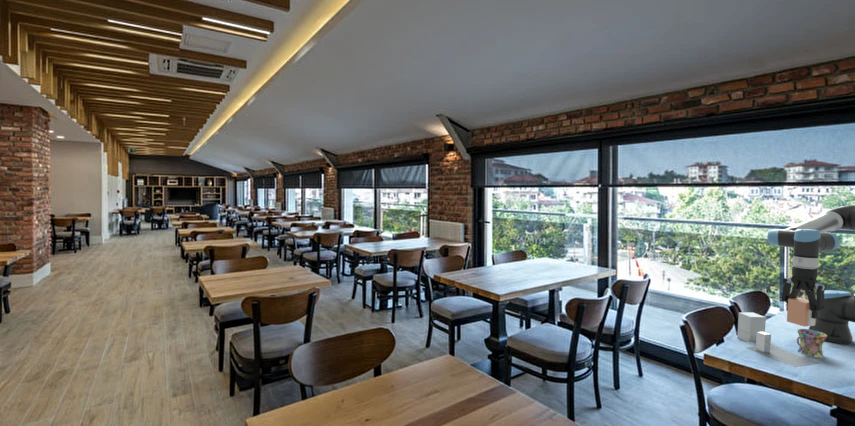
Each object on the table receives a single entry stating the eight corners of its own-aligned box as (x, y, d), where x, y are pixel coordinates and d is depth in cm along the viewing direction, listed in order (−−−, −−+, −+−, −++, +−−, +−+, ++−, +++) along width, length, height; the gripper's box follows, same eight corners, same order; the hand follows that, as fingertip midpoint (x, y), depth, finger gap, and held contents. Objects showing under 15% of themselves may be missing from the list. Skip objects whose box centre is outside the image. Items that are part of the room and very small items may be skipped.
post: (761, 349, 173) (762, 331, 172) (769, 352, 169) (771, 334, 169) (755, 349, 172) (756, 332, 171) (763, 353, 169) (765, 334, 168)
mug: (806, 351, 174) (808, 328, 173) (831, 360, 165) (833, 336, 164) (784, 353, 172) (786, 329, 171) (808, 362, 163) (810, 337, 162)
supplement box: (764, 343, 183) (766, 317, 182) (748, 343, 183) (750, 317, 182) (752, 337, 190) (753, 312, 189) (736, 337, 190) (738, 311, 189)
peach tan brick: (797, 320, 165) (799, 297, 164) (815, 325, 159) (817, 301, 158) (786, 321, 163) (788, 298, 163) (804, 326, 157) (805, 303, 157)
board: (769, 348, 178) (769, 344, 178) (820, 366, 159) (820, 363, 159) (745, 351, 174) (745, 347, 174) (794, 370, 156) (795, 366, 156)
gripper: (772, 262, 168) (768, 315, 169) (827, 272, 149) (822, 331, 151) (785, 262, 170) (781, 314, 171) (841, 271, 151) (836, 330, 153)
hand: (800, 322), depth 161 cm, fingers closed on peach tan brick, 6 cm apart
